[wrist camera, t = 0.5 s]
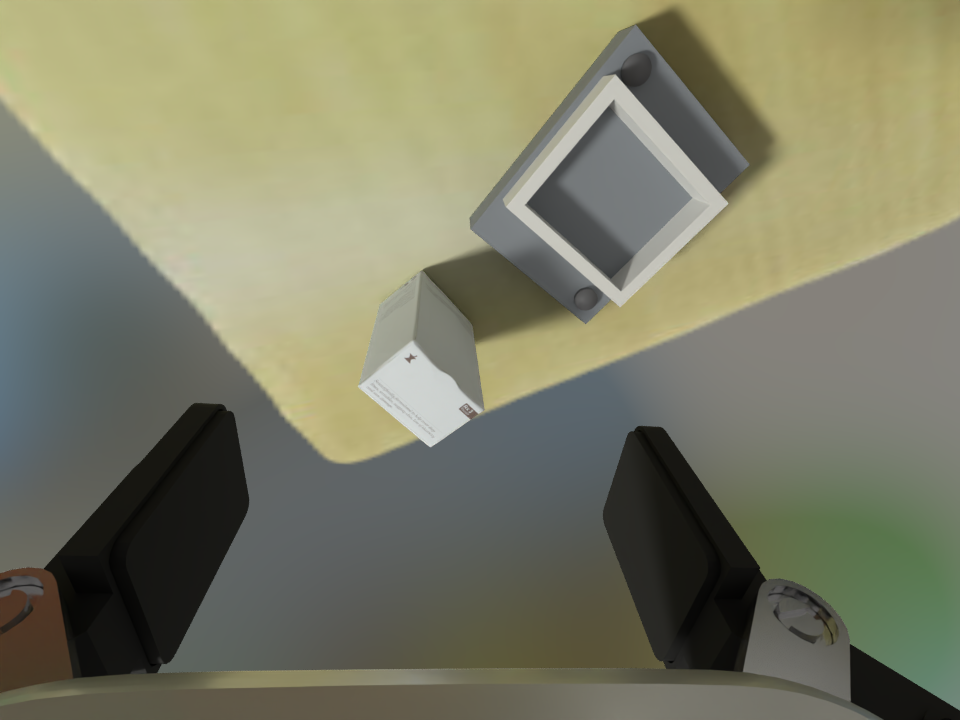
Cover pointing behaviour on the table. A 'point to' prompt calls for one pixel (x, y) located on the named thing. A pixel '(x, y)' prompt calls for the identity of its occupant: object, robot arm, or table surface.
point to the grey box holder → (611, 181)
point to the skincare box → (423, 361)
